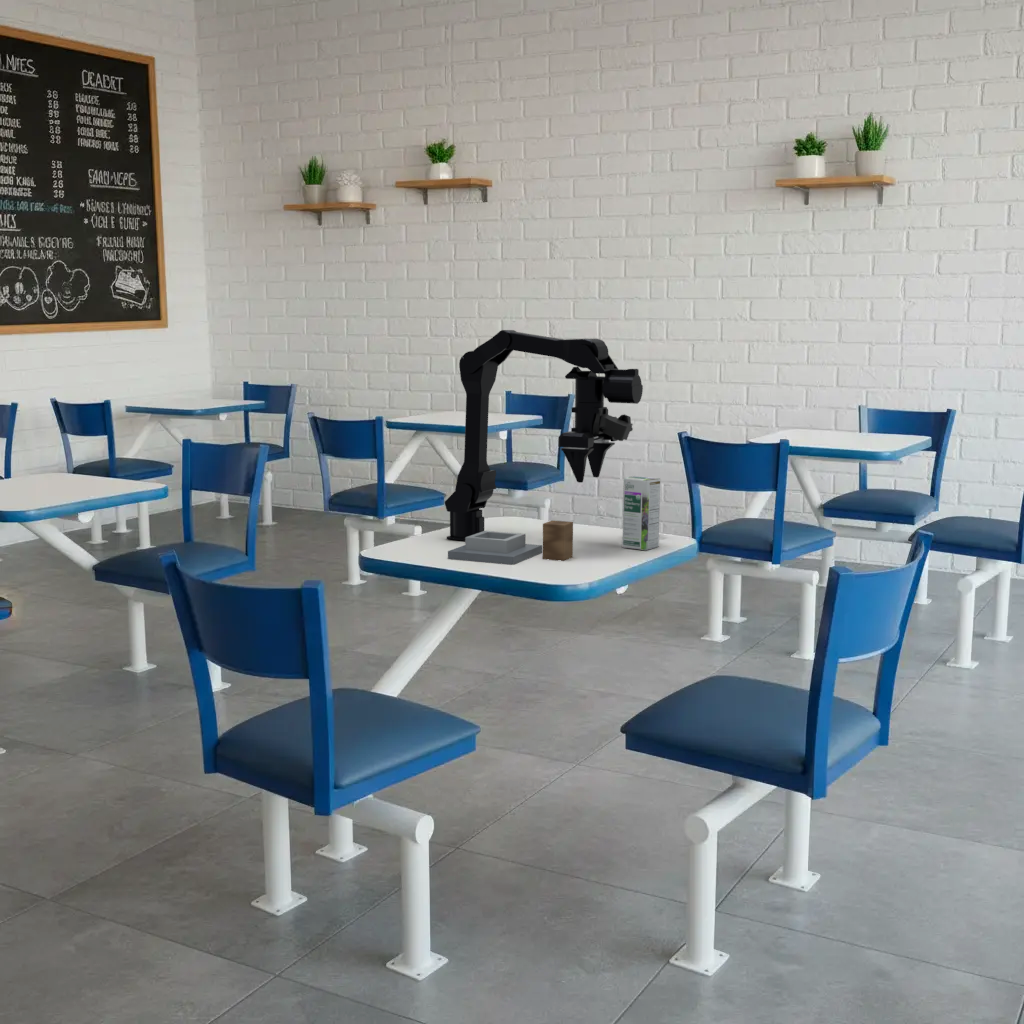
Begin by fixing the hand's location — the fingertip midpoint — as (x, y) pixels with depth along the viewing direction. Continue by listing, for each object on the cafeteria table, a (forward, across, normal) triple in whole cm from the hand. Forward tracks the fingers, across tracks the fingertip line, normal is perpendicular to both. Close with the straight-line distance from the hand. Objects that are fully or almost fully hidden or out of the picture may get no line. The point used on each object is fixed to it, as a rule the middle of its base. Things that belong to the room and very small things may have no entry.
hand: (588, 479), depth 245 cm
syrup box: (+14, +7, -9) cm, 18 cm away
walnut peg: (+14, -11, +2) cm, 18 cm away
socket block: (+14, -14, +14) cm, 24 cm away
